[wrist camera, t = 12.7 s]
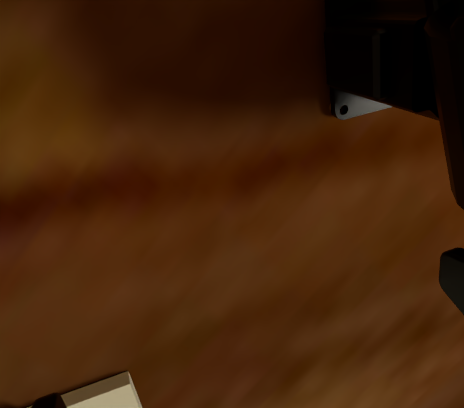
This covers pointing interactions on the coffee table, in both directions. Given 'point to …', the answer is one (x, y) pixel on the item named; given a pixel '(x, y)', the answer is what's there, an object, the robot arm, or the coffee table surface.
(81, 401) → the board
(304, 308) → the coffee table surface
